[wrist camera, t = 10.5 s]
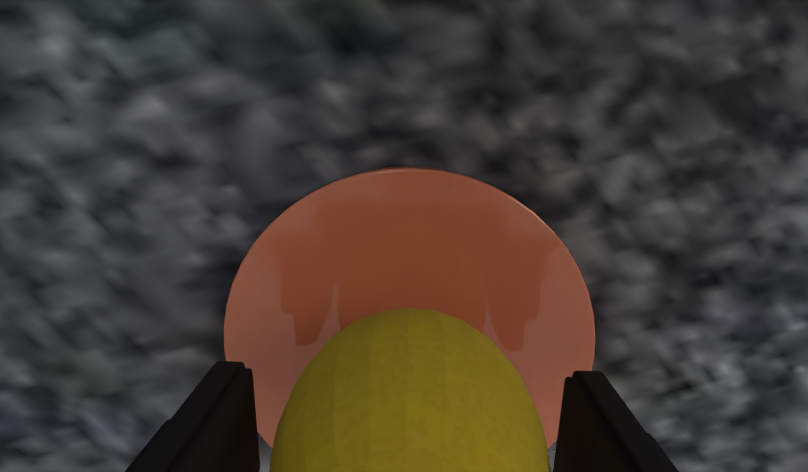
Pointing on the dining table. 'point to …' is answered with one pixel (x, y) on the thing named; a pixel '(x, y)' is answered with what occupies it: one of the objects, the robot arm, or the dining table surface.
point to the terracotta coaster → (409, 280)
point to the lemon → (409, 402)
